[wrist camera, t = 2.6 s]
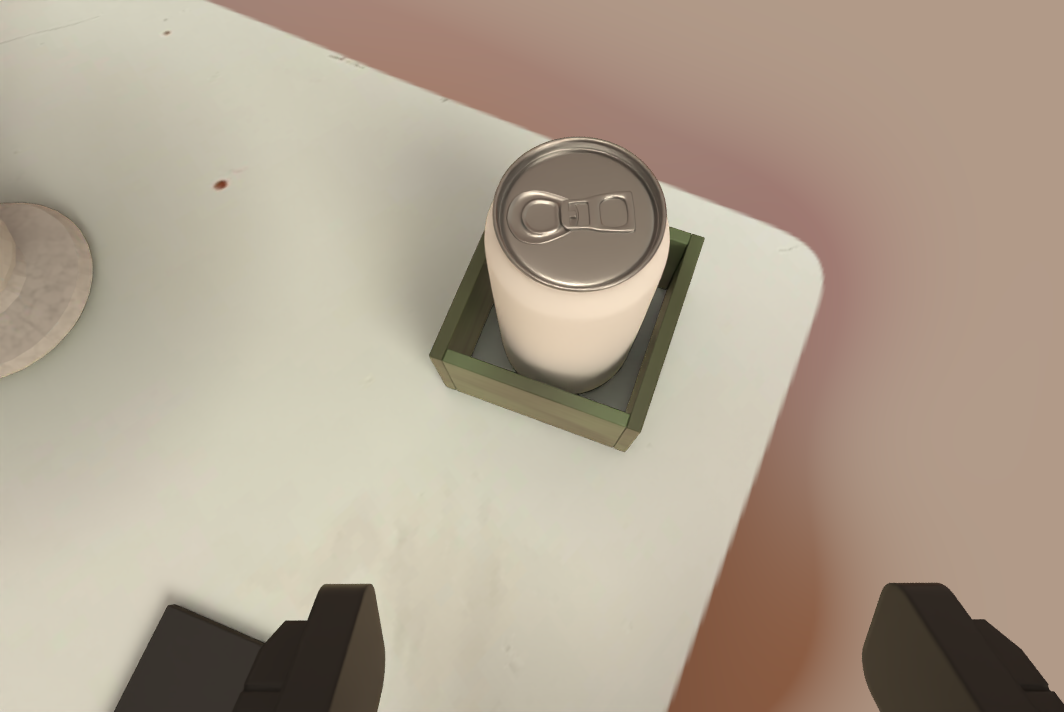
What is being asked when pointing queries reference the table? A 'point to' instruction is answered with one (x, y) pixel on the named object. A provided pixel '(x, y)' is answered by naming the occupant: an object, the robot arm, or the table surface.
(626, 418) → the caddy
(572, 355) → the can
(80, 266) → the table lamp
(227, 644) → the mat
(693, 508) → the table surface
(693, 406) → the table surface
